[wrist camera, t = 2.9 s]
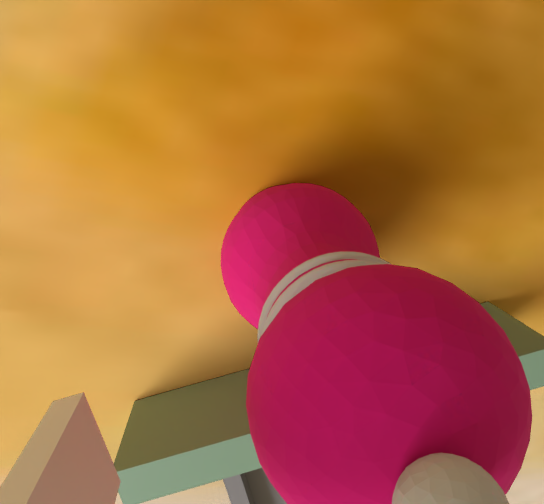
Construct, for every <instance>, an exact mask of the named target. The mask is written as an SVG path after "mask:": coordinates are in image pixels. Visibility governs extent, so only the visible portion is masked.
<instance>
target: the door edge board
mask: <svg viewBox="0 0 544 504" xmlns="http://www.w3.org/2000/svg"><path fill="white" fill-rule="evenodd" d="M480 305H482V307H483V308H484V309H485V310H486V311H487V312H488V313H489V314H490V315H491V317H492V318H493V319H494V320H495V321H496V322H497V323H498V324H499V325H500V327H501V328H502V329H503V330H504V331H505V333H506V335H507V337H508V338H509V340H510V342H511V344H512V345H513V347H514V349H515V351H516V353H517V355H518V357H519V359H520V361H521V363H522V366H523V369H524V372H525V375H526V378H527V381H528V385H529V388H530V390H532V389H536V388H539V387H542V386H544V336H542V335H541V334H539V333H537V332H536V331H534V330H533V329H531V328H530V327H528V326H526V325H525V324H523V323H522V322H520V321H518V320H517V319H515V318H514V317H512V316H510V315H509V314H507V313H506V312H504V311H503V310H501V309H499V308H498V307H496V306H495V305H493V304H491V303H490V302H485V303H481V304H480ZM249 370H250V369H247V370H243V371H239V372H236V373H232V374H229V375H225V376H222V377H218V378H215V379H211V380H207V381H204V382H200V383H197V384H193V385H190V386H186V387H183V388H179V389H175V390H172V391H168V392H165V393H161V394H158V395H154V396H151V397H147V398H143V399H140V400H136V401H135V402H134V405H133V408H132V411H131V414H130V417H129V420H128V423H127V426H126V429H125V432H124V435H123V438H122V441H121V444H120V447H119V450H118V453H117V456H116V459H115V462H114V466H115V469H116V471H117V474H118V476H119V478H120V481H121V482H120V485H119V489H118V492H119V495H120V497H121V500H122V502H123V504H139V503H142V502H146V501H149V500H153V499H156V498H159V497H163V496H166V495H170V494H173V493H177V492H180V491H184V490H187V489H190V488H194V487H197V486H201V485H204V484H208V483H211V482H215V481H218V480H222V479H225V478H228V477H232V476H235V475H239V474H242V473H246V472H249V471H253V470H256V469H259V468H262V466H261V464H260V462H259V459H258V456H257V453H256V450H255V446H254V443H253V440H252V437H251V434H250V428H249V421H248V415H247V409H246V394H247V378H248V373H249Z"/></svg>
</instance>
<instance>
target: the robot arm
mask: <svg viewBox="0 0 544 504" xmlns="http://www.w3.org/2000/svg"><path fill="white" fill-rule="evenodd" d="M120 482H121V481H120V478H119V476H118V474H117V471H116V469H115V466H114V464H113V462H112V459H111V457H110V454H109V452H108V450H107V447H106V445H105V442H104V440H103V438H102V435H101V433H100V430H99V428H98V426H97V423H96V421H95V418H94V416H93V414H92V411H91V409H90V406H89V404H88V402H87V399H86V397H85V394H84V392H83V393H80V394H76V395H73V396H69V397H66V398H63V399H59V400H56V401H53V402H52V404H51V406H50V407H49V409H48V410H47V412H46V414H45V415H44V417H43V419H42V420H41V422H40V424H39V425H38V427H37V428H36V430H35V432H34V433H33V435H32V437H31V438H30V440H29V441H28V443H27V445H26V446H25V448H24V450H23V451H22V453H21V454H20V456H19V458H18V459H17V461H16V463H15V464H14V466H13V467H12V469H11V471H10V472H9V474H8V476H7V477H6V479H5V480H4V482H3V484H2V485H1V487H0V504H115V500H116V496H117V493H118V489H119V485H120Z"/></svg>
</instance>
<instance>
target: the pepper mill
mask: <svg viewBox="0 0 544 504" xmlns="http://www.w3.org/2000/svg"><path fill="white" fill-rule="evenodd" d="M221 269H222V276H223V280H224V284H225V287H226V290H227V292H228V295H229V297H230V300H231V302H232V303H233V305H234V306H235V308H236V309H237V310H238V312H239V313H240V314H241V315H242V316H243V317H244V318H245V319H246V320H247V321H248V322H249V323H250V324H252V325H253V326H254V327H256V328H257V329H258V335H257V337H258V345H257V348H256V351H255V354H254V357H253V360H252V363H251V367H250V370H249V373H248V378H247V394H246V409H247V415H248V421H249V428H250V434H251V437H252V440H253V443H254V446H255V450H256V453H257V456H258V459H259V462H260V464H261V466H262V468H263V470H264V472H265V474H266V475H267V477H268V479H269V481H270V482H271V484H272V485H273V486H274V488H275V489H276V490H277V492H278V493H279V494H280V495H281V497H282V498H283V499H284V500H285V502H286V503H287V504H509V503H508V500H507V498H506V496H505V494H506V493H507V492H508V490H509V489H510V487H511V485H512V483H513V482H514V480H515V478H516V476H517V474H518V472H519V471H520V469H521V466H522V463H523V460H524V457H525V454H526V451H527V448H528V444H529V441H530V432H531V423H532V410H531V398H530V388H529V385H528V381H527V378H526V375H525V372H524V369H523V366H522V363H521V361H520V359H519V357H518V355H517V353H516V351H515V349H514V347H513V345H512V344H511V342H510V340H509V338H508V337H507V335H506V333H505V331H504V330H503V329H502V328H501V327H500V325H499V324H498V323H497V322H496V321H495V320H494V319H493V318H492V317H491V315H490V314H489V313H488V312H487V311H486V310H485V309H484V308H483V307H482V305H480V304H479V303H478V302H477V301H476V300H475V299H473V298H472V297H470V296H469V295H468V294H466V293H465V292H464V291H462V290H461V289H459V288H458V287H457V286H455V285H454V284H453V283H451V282H448V281H446V280H444V279H441V278H439V277H436V276H434V275H432V274H429V273H427V272H425V271H422V270H420V269H418V268H411V267H404V266H397V265H392V264H390V263H389V262H387V261H385V260H383V259H381V258H380V255H379V250H378V246H377V242H376V239H375V236H374V234H373V231H372V229H371V227H370V225H369V223H368V222H367V220H366V219H365V218H364V216H363V215H362V213H361V212H360V211H359V210H358V209H357V208H356V207H355V206H354V205H353V204H352V203H350V202H349V201H348V200H347V199H346V198H345V197H343V196H342V195H340V194H338V193H337V192H335V191H333V190H331V189H328V188H326V187H323V186H319V185H314V184H309V183H291V184H286V185H279V186H274V187H270V188H267V189H265V190H263V191H261V192H259V193H257V194H256V195H254V196H253V197H252V198H250V199H249V200H248V201H247V202H246V203H245V204H244V205H243V207H242V208H241V209H240V211H239V212H238V214H237V215H236V216H235V217H234V219H233V220H232V222H231V224H230V226H229V228H228V229H227V232H226V235H225V238H224V240H223V245H222V250H221Z"/></svg>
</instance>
